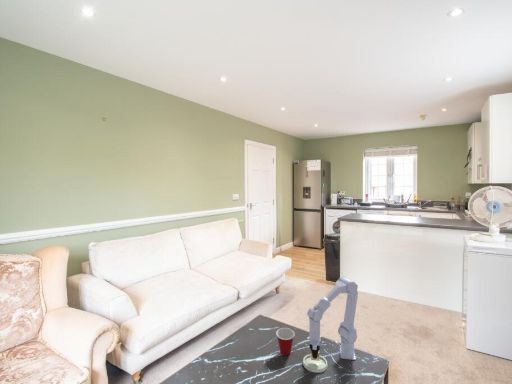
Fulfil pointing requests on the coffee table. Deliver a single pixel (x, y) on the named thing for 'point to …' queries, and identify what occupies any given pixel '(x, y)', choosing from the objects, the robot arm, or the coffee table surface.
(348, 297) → the robot arm
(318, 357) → the birch block
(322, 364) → the celadon dish
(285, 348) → the plastic cup
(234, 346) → the coffee table surface
